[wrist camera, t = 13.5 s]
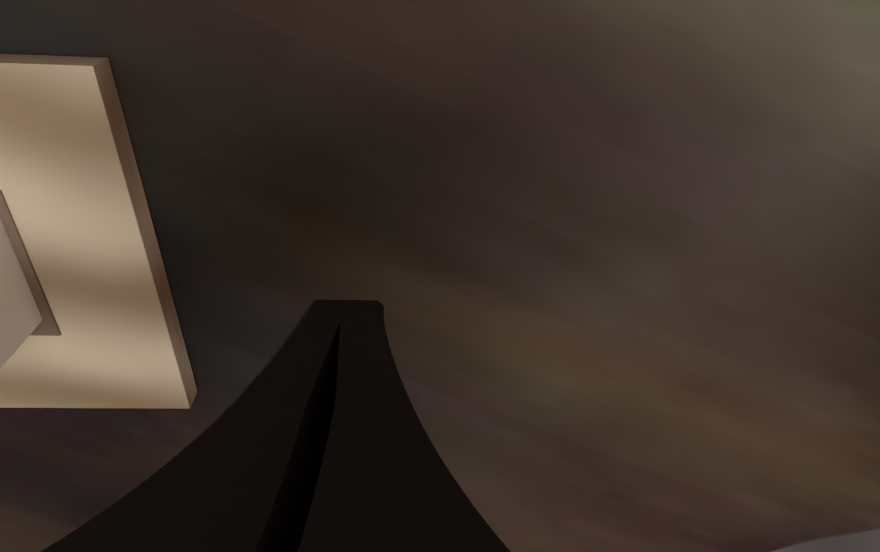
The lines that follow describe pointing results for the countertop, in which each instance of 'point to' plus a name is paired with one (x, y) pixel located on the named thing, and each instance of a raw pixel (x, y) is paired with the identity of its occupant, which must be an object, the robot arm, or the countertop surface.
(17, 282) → the block
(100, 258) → the press bed
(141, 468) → the countertop surface
